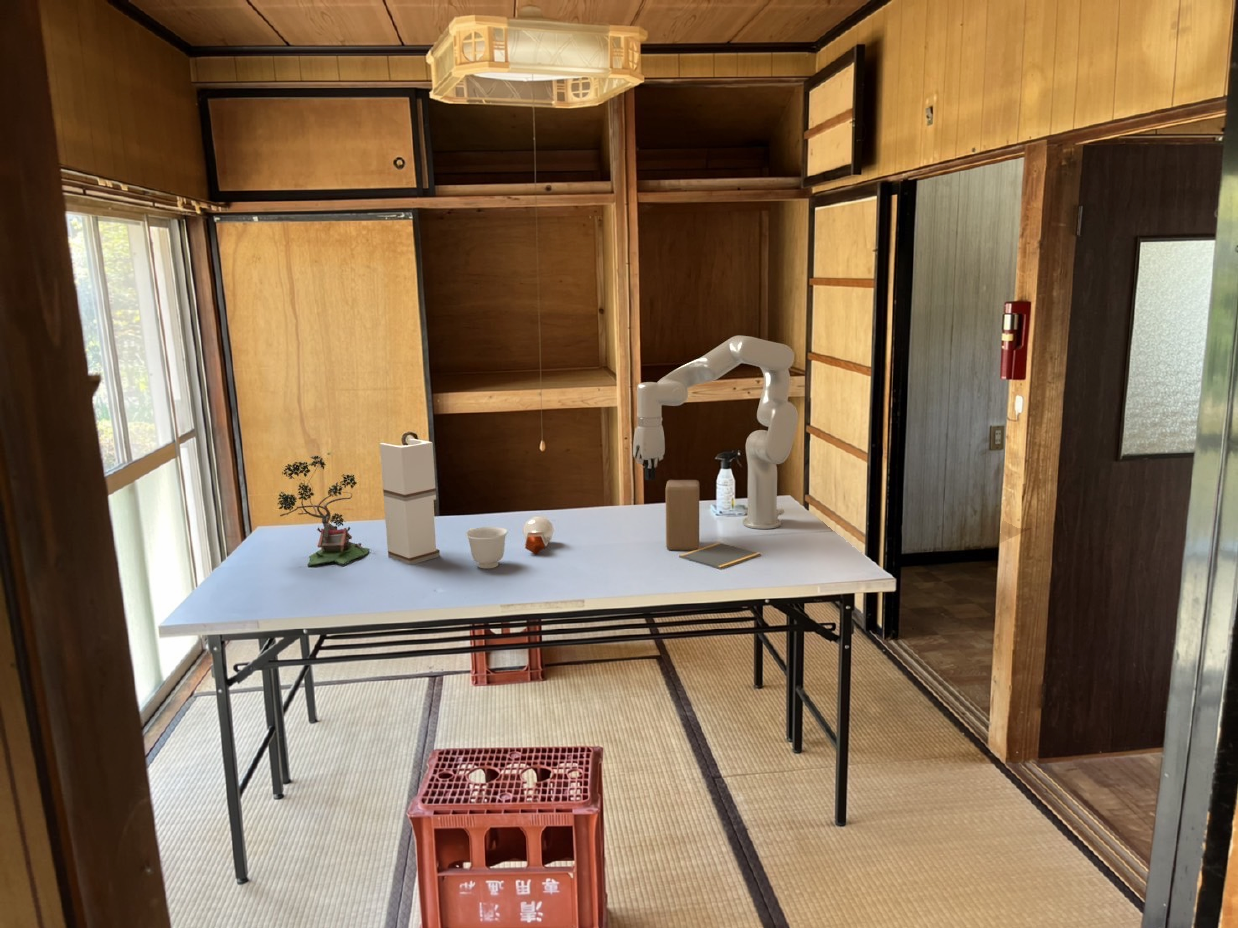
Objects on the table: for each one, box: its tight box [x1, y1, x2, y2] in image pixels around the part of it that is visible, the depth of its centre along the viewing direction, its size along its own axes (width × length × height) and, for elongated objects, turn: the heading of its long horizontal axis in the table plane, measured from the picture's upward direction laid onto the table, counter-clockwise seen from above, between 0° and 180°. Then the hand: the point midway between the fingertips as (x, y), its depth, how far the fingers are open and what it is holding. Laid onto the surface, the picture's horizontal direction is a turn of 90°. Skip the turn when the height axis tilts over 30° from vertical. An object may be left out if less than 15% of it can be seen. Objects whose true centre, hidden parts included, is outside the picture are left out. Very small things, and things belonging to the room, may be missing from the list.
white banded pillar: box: [379, 437, 441, 566], centre depth 258 cm, size 11×11×35 cm
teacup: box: [465, 526, 508, 569], centre depth 252 cm, size 12×15×10 cm
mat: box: [678, 542, 761, 570], centre depth 255 cm, size 18×16×1 cm
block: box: [665, 479, 700, 551], centre depth 264 cm, size 10×10×20 cm
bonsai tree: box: [277, 455, 371, 568], centre depth 255 cm, size 35×24×32 cm
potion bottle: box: [522, 515, 555, 555], centre depth 267 cm, size 9×10×15 cm
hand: (650, 479), depth 273 cm, fingers closed
